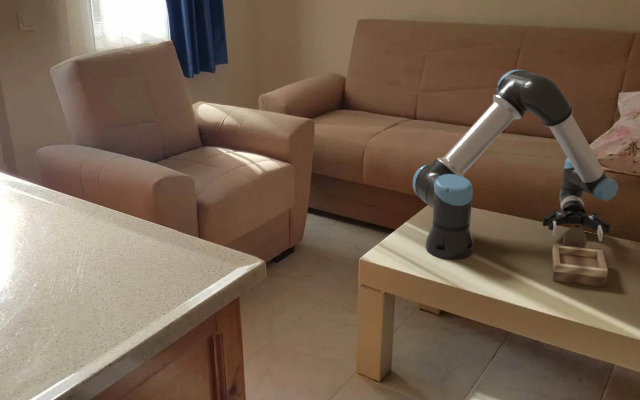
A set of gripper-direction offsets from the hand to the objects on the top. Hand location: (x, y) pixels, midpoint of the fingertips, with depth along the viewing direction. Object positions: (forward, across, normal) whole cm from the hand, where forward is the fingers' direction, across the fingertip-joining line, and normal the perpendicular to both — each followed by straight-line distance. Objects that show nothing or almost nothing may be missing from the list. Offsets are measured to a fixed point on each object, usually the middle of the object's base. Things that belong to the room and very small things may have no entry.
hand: (577, 235), depth 195 cm
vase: (0, +1, -6) cm, 6 cm away
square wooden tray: (+15, +1, -6) cm, 16 cm away
